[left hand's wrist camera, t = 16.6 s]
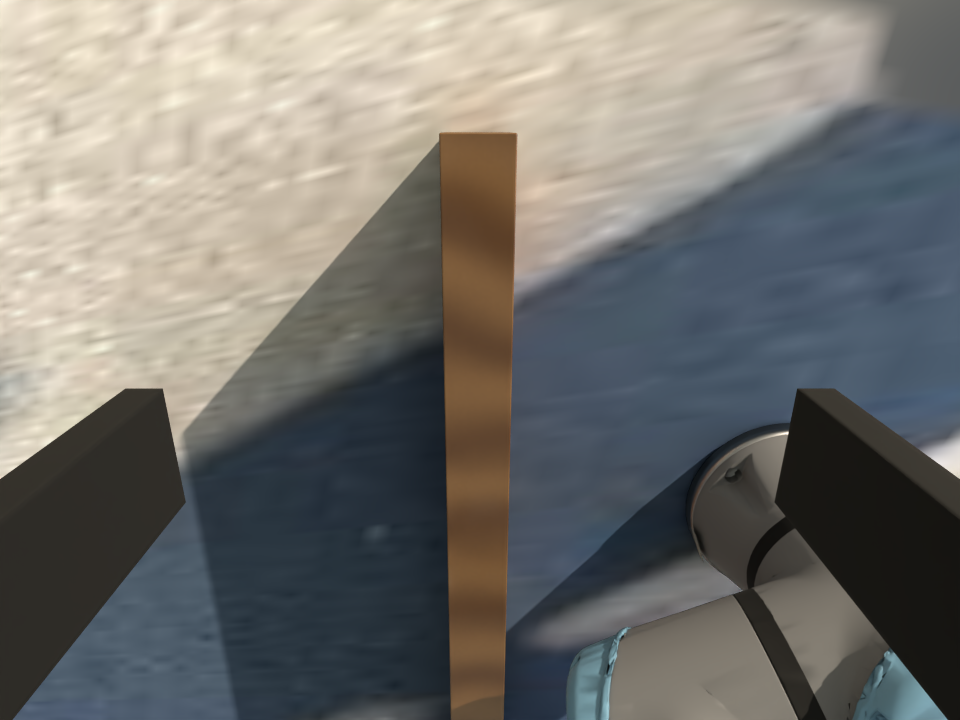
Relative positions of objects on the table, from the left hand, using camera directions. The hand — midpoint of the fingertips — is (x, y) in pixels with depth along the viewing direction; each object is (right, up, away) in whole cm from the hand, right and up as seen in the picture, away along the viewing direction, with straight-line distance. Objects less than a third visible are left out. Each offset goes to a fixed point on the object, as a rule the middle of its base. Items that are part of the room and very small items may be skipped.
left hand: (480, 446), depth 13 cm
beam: (0, -16, +42) cm, 45 cm away
